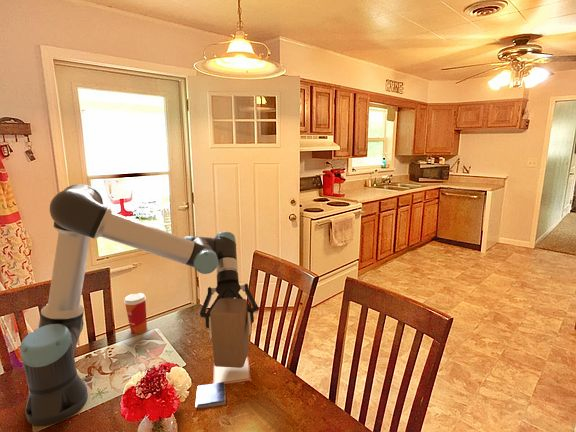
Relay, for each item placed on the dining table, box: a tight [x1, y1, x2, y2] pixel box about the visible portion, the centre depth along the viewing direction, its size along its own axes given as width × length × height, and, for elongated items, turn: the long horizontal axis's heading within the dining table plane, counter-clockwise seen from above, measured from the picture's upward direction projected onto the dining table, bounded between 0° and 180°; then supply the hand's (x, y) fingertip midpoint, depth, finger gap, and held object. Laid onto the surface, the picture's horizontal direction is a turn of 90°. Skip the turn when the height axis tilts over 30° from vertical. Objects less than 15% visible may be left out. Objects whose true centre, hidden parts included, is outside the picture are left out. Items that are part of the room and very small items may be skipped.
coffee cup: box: [123, 292, 148, 335], centre depth 137 cm, size 8×8×15 cm
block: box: [210, 298, 250, 368], centre depth 110 cm, size 10×10×20 cm
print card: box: [212, 355, 252, 385], centre depth 113 cm, size 12×12×1 cm
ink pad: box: [195, 382, 227, 410], centre depth 102 cm, size 8×8×1 cm
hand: (230, 335), depth 108 cm, fingers closed on block, 12 cm apart
